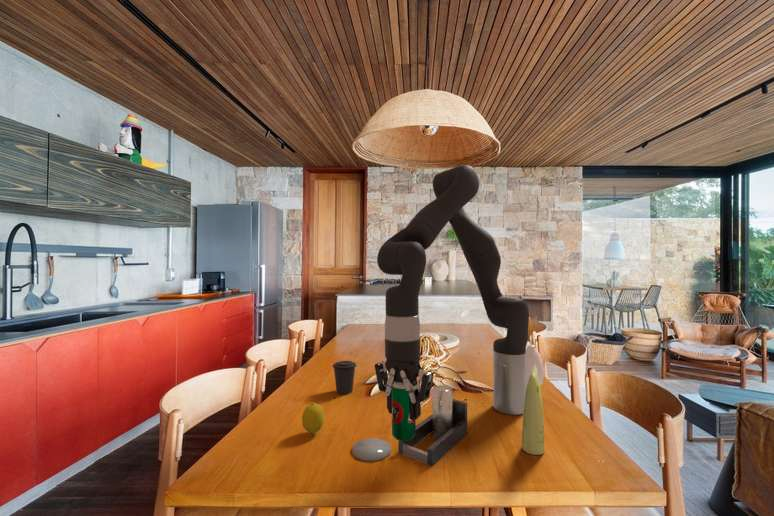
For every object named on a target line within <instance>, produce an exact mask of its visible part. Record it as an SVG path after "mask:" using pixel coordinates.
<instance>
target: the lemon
mask: <svg viewBox="0 0 774 516" xmlns="http://www.w3.org/2000/svg"><path fill="white" fill-rule="evenodd" d="M324 413H325V412H324V410H323V408H322V406H321V405H320V404H318V403H316V402H311V403H310V404H308V405H307V406H305V408H304V409H303V412H302V416H301V417H302V418H301V421H302V422H301V423H302V427H303V428H304V430H305V431H306V432H307V433H310V434H312V435H315V434H316V433H317V432H319V431H321V429H322V427H323V425H324V421H325V414H324Z"/></svg>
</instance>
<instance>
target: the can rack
mask: <svg viewBox="0 0 774 516" xmlns="http://www.w3.org/2000/svg"><path fill="white" fill-rule="evenodd" d="M432 431H433V413H432V414H430V415H429V416H428V417H426V418H425V419H424V420H422V421H421V422H419V423H417V424H416V435H415V436H414V438H413V439H411V440H409V441H399V440H398V450H397V451H398V454H401V455H403V456H405V457H408V458H410V459H413V460H416V461H418V462H420V463H423V464H425V465H427V466H430V467H434V466H435V464H436V463H437V462H439V461H440V460H441V459H442V458H443V457H444V456H445V455H446V454H447V453H448V452H449V451H451V449H453V448H454V447H455V446H456V445H457V444H458V443H459V442H460V441H462V440H463V439H464V437H466V436H467V435H468V402H467V401H463V400H459V399H455V398H453V428H451V429H450V430H449V431H448V432H447V433H445V434H444V435H443V436H442V437H441V438H439V439H438V440H435V442H433V443H432V444H431V445H429V446H428V447H427V448H426V449H427V451H424V450H422V449H420V448H416V447H415V446H416V445H417V444H418V443H420V442H421V441H422V440H423V438H424V437H425V438H427V437H428V436H429V435H430V434H432V433H433V432H432ZM429 433H430V434H429ZM428 434H429V435H428ZM427 435H428V436H427ZM425 438H424V439H425Z"/></svg>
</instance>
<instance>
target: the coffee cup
mask: <svg viewBox="0 0 774 516" xmlns="http://www.w3.org/2000/svg"><path fill="white" fill-rule="evenodd" d="M356 367H357V364H356V362H354V361H351V360H340V361H337V362H334V363H333V365H332V368H333V370H334V371H333V372H334V380H335V381H334V382H335V390H336V394H338V395H343V396H345V395H349V394H352V393H353V389H354V381H355V371H356Z"/></svg>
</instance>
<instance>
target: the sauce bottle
mask: <svg viewBox="0 0 774 516" xmlns="http://www.w3.org/2000/svg"><path fill="white" fill-rule="evenodd" d="M535 363H536V368H537V371H538V376H539V382H540V387H541V386H542V385H543V382H544V379H545V378H544V377H545V369H544V368H545V367H544V363H543V360H542V357H541V354H540V353H539V350H537V348H536V345H535V344H533V339H532V337H530V344H527V345H526V389H527V384H528V380H529V377H530V375H531V373H532V370H533V367H534V365H535Z"/></svg>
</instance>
